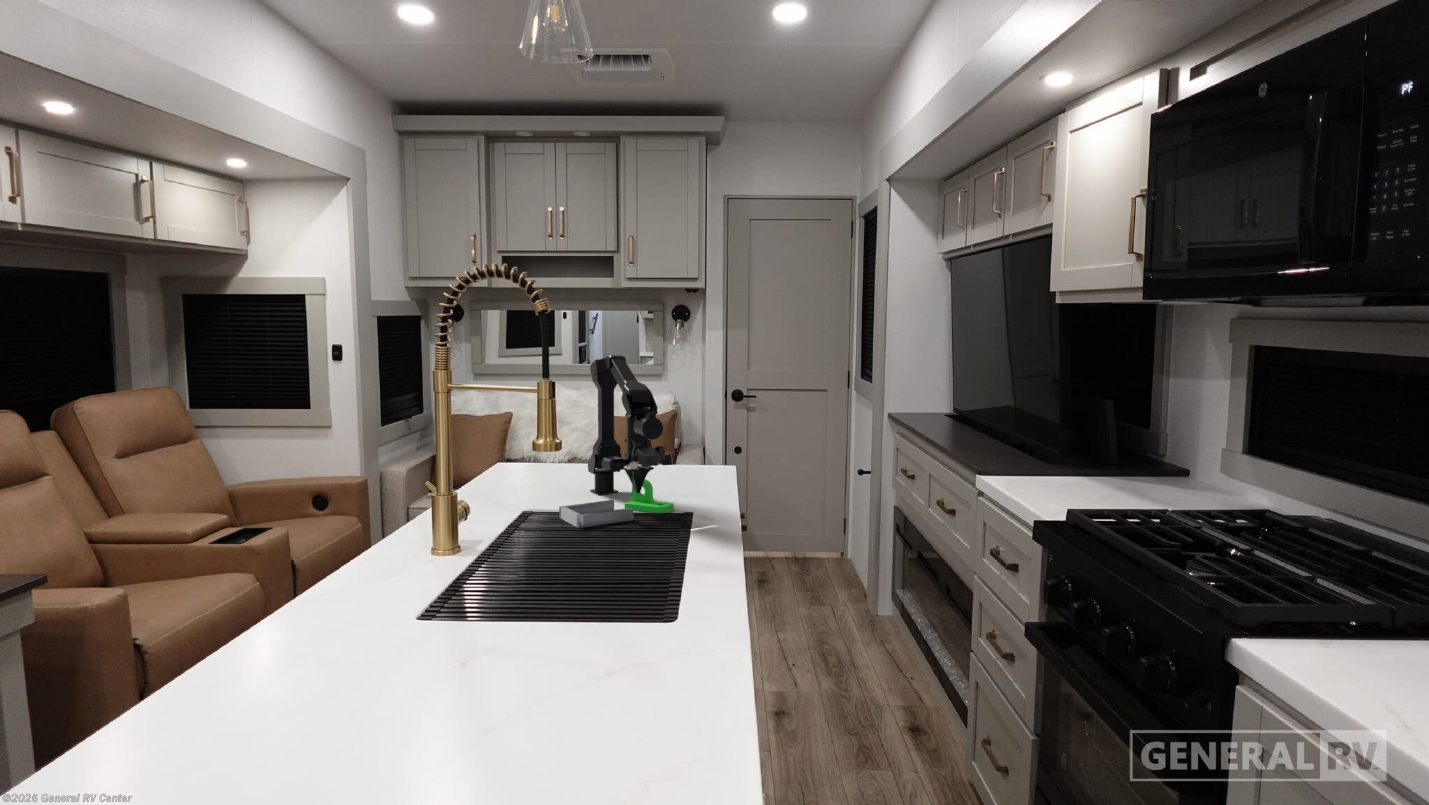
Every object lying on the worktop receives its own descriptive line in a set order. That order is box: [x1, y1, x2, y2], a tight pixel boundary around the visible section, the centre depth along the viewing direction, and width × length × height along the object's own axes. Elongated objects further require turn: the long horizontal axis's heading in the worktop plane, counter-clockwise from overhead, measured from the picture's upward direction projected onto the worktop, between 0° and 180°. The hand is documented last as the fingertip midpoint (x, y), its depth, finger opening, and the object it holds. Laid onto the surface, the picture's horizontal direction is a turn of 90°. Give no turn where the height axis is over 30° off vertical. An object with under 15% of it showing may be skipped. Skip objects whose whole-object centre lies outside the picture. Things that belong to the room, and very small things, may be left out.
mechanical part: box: [624, 478, 675, 514], centre depth 204 cm, size 12×6×8 cm, turn 66°
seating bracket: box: [558, 499, 634, 529], centre depth 193 cm, size 12×15×3 cm
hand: (637, 493), depth 200 cm, fingers closed
